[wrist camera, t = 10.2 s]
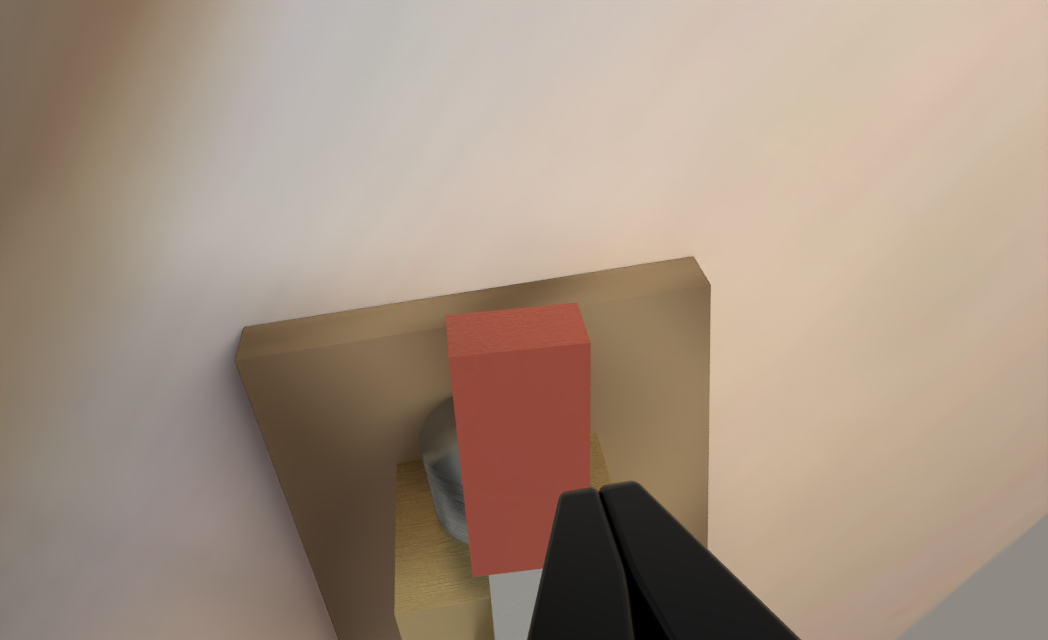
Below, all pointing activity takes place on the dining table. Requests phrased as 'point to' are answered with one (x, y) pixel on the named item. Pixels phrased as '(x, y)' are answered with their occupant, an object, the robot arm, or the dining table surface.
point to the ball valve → (444, 539)
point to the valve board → (425, 382)
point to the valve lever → (518, 441)
